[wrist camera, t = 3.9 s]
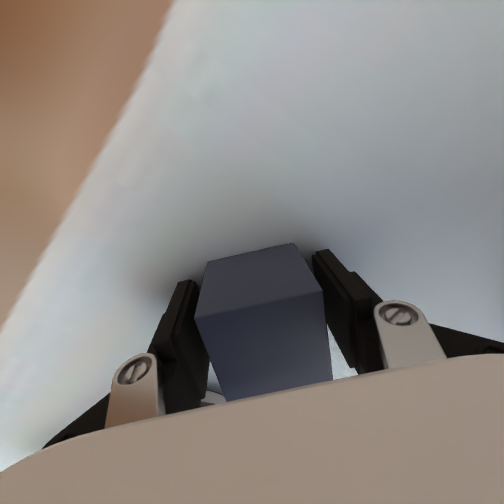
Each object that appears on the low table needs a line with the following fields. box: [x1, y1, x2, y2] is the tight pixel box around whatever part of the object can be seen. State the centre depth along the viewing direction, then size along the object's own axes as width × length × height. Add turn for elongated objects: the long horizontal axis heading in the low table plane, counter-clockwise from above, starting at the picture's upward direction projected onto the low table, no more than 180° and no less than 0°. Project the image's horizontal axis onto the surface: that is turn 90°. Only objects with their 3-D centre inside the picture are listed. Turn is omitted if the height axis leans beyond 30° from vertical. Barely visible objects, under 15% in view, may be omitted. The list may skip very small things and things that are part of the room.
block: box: [194, 243, 333, 402], centre depth 10 cm, size 4×4×4 cm
